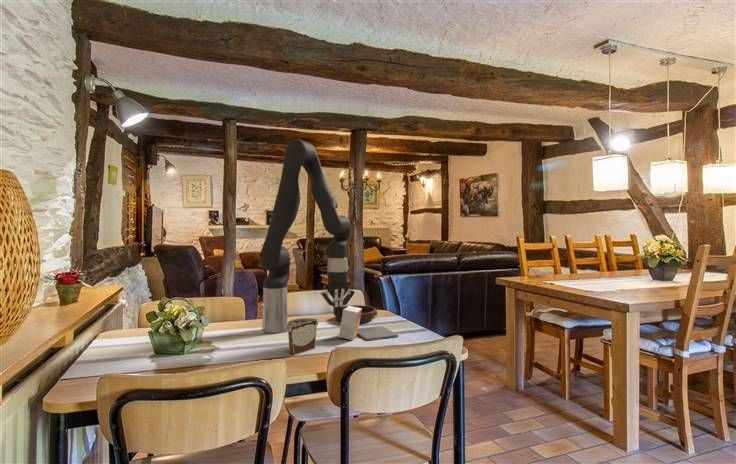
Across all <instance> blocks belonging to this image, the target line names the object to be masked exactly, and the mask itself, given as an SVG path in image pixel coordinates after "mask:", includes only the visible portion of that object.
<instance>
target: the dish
mask: <svg viewBox="0 0 736 464" xmlns="http://www.w3.org/2000/svg"><path fill="white" fill-rule="evenodd" d="M348 306H353V307H358V308H362V311H361V317H360V323H359V324H361V323H362V324H363V323H367V322H370V321H372V320H373V318H374V317H375V316H378V311H377V308H376V307H374V306H371V305H370V306H369V305H361V304H360V305H354V304H353V305H352V304H351V305H343V306H342V314H343V310H344V309H345V308H346V307H348ZM341 320H342V315H341V317H334V321H335V322H339V323H341Z"/></svg>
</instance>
